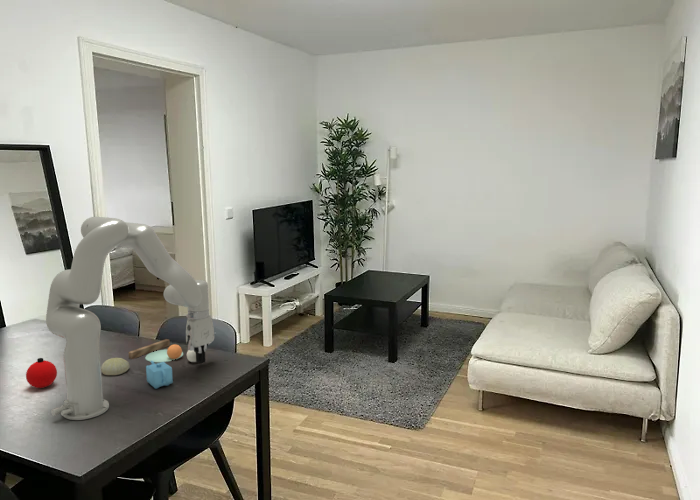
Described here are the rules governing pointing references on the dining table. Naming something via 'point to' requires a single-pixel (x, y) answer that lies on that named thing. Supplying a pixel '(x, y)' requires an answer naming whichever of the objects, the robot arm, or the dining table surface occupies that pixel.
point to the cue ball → (191, 356)
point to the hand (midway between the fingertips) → (200, 361)
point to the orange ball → (174, 351)
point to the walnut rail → (149, 349)
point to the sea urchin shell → (114, 366)
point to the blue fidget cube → (159, 374)
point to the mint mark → (159, 356)
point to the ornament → (41, 373)
